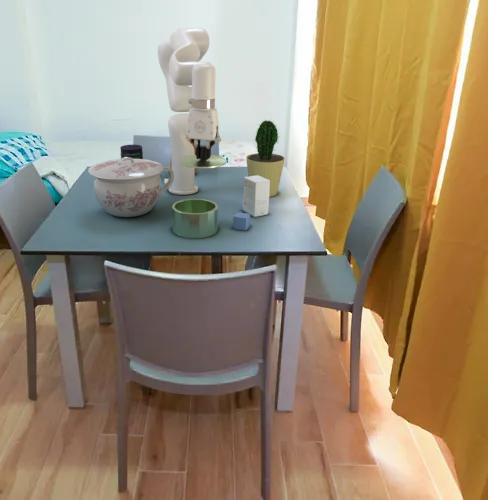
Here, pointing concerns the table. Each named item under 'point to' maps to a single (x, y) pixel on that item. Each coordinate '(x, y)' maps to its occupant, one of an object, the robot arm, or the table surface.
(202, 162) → the lid
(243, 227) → the blue cube
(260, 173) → the potted cactus
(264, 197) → the small box
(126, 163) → the chamber pot
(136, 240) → the table surface
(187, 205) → the pot
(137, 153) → the storage jar
